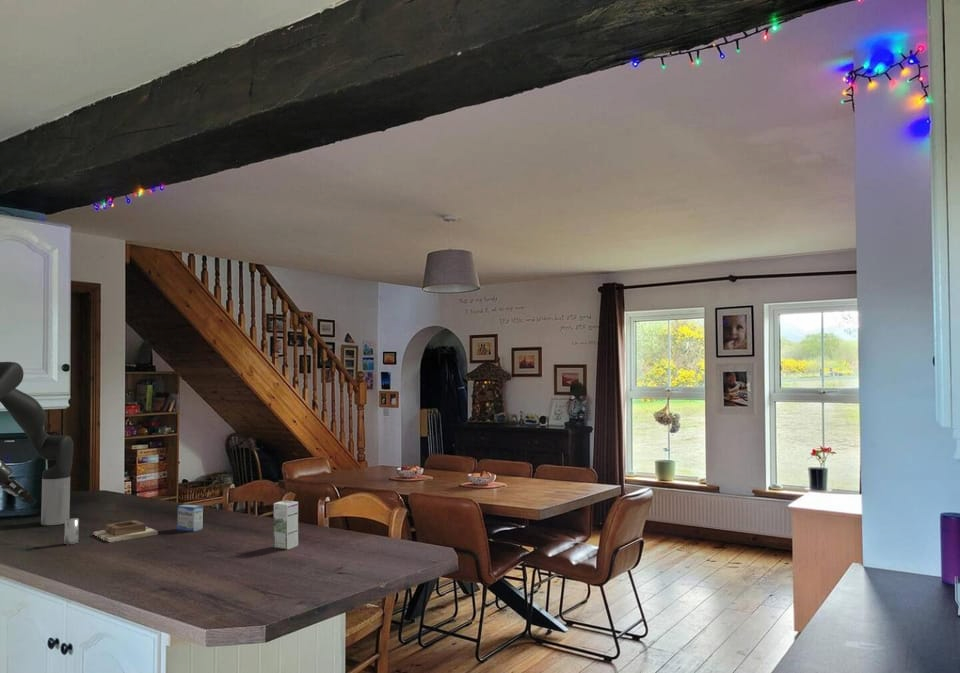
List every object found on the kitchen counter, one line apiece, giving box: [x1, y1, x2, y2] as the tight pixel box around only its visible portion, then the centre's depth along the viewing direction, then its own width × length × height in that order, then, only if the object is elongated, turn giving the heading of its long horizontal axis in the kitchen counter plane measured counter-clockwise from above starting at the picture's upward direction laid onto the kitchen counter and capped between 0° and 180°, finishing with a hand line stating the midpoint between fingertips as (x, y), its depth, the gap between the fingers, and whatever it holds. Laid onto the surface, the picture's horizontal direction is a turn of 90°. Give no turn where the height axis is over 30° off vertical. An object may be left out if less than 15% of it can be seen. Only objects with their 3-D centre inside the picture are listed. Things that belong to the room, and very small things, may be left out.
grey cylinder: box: [63, 517, 80, 546], centre depth 231 cm, size 4×4×8 cm
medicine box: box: [176, 504, 204, 533], centre depth 251 cm, size 8×4×9 cm, turn 68°
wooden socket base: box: [92, 519, 159, 543], centre depth 244 cm, size 16×16×4 cm
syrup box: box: [273, 500, 299, 550], centre depth 225 cm, size 6×6×14 cm
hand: (31, 502), depth 224 cm, fingers open, 8 cm apart
